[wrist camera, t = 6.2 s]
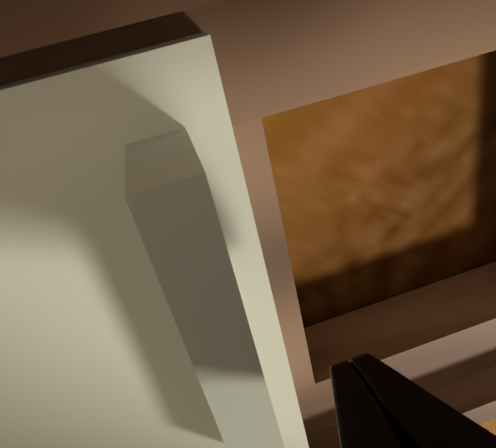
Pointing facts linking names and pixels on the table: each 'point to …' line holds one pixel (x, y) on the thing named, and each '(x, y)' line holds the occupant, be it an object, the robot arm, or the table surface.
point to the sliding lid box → (259, 167)
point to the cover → (134, 264)
